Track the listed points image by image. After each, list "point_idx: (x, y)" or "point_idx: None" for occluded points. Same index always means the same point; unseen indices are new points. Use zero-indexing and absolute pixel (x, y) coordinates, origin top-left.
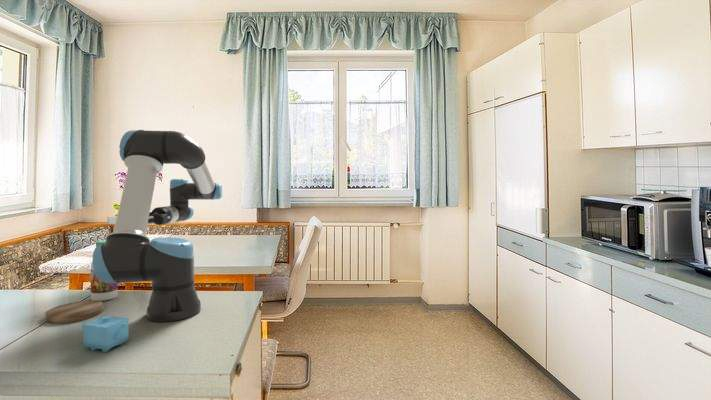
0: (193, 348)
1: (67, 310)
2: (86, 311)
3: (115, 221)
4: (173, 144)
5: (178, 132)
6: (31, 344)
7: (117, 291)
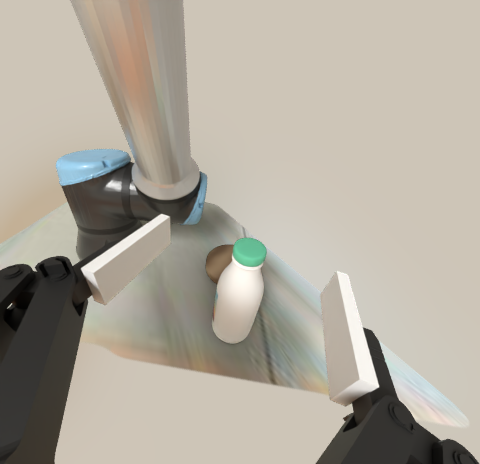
0: None
1: None
2: (215, 250)
3: (328, 322)
4: None
5: None
6: (227, 224)
7: (212, 323)
